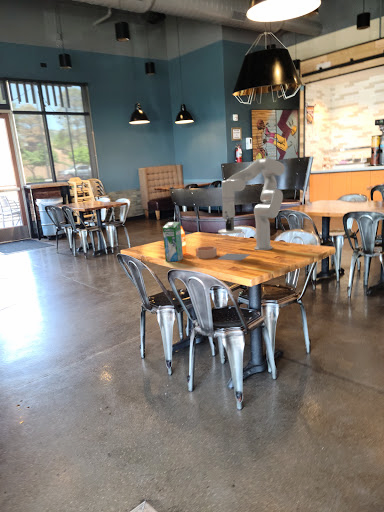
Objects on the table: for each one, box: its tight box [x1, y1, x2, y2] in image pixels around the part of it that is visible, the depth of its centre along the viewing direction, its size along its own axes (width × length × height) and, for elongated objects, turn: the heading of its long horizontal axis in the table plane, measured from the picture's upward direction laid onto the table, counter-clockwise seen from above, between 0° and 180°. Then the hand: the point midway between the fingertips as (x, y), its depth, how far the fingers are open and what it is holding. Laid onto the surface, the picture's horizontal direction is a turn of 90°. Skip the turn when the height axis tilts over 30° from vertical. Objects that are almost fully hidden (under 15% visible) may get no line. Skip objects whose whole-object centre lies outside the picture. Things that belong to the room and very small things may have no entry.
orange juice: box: [181, 225, 187, 255], centre depth 272 cm, size 8×9×20 cm
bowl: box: [195, 245, 218, 260], centre depth 258 cm, size 13×13×6 cm
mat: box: [217, 252, 252, 262], centre depth 251 cm, size 17×17×1 cm
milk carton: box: [162, 221, 184, 262], centre depth 254 cm, size 9×9×25 cm
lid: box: [217, 218, 243, 235], centre depth 247 cm, size 15×15×8 cm
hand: (229, 228), depth 247 cm, fingers closed on lid, 4 cm apart
